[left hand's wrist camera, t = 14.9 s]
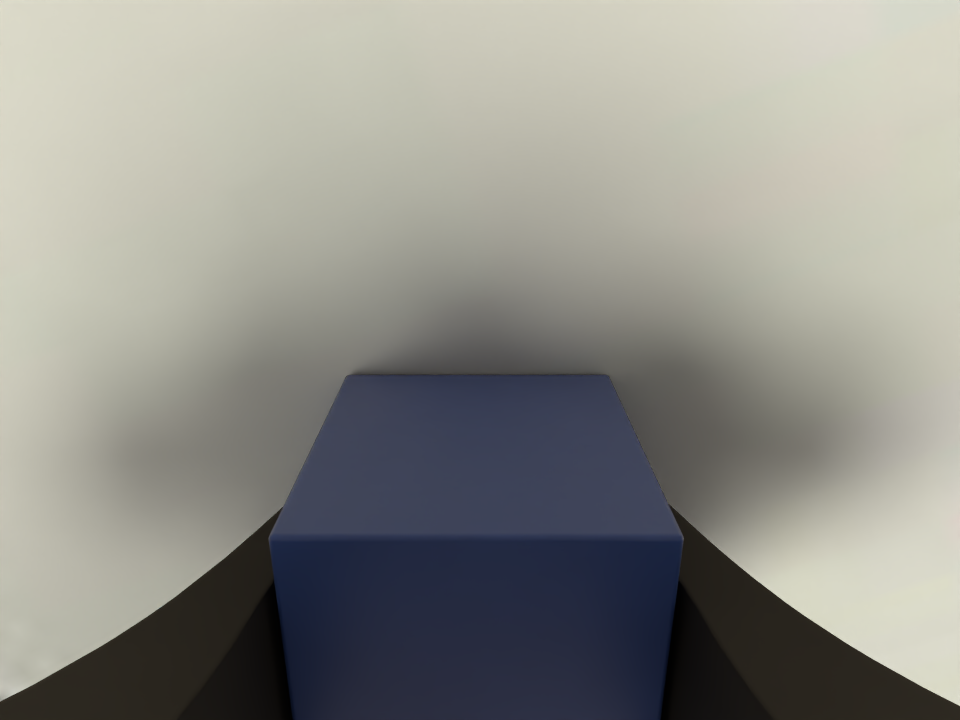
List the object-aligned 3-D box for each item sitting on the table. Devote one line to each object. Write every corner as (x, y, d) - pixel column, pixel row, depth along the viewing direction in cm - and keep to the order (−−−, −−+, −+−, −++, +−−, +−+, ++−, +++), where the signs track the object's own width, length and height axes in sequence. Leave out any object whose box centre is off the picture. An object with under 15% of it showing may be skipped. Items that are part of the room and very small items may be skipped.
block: (593, 596, 13) (647, 835, 9) (362, 596, 13) (306, 836, 9) (609, 373, 12) (686, 536, 7) (345, 373, 12) (266, 536, 7)
